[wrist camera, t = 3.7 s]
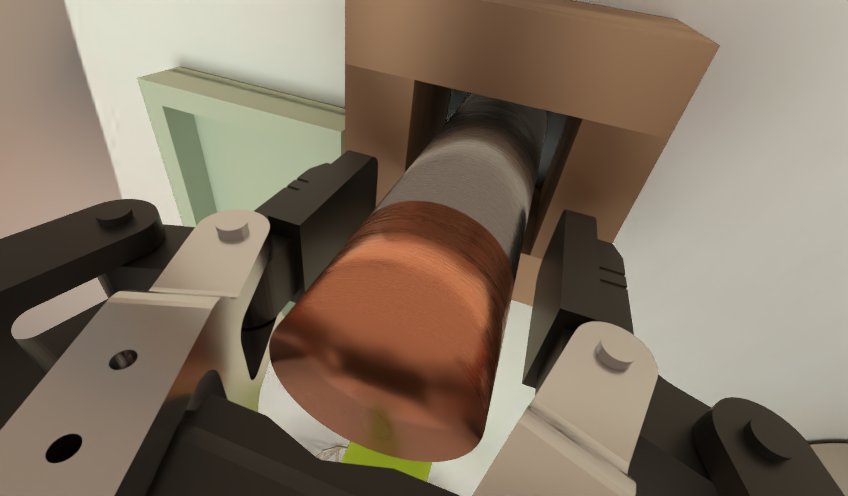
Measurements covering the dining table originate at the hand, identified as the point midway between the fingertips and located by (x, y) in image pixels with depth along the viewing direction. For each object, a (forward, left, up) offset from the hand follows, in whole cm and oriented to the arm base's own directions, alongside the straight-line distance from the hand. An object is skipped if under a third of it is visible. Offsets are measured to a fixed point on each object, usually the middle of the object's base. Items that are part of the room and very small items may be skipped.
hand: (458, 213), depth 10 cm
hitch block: (0, 0, -7) cm, 7 cm away
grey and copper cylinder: (0, 0, -7) cm, 7 cm away
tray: (+11, +8, -7) cm, 15 cm away
